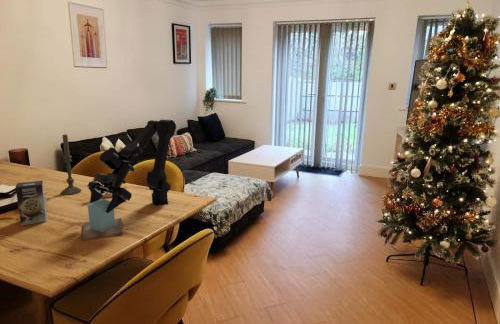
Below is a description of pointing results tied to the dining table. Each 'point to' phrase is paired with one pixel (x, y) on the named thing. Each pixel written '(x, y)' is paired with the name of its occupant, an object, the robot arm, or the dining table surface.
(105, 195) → the brown scrollwork stand
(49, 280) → the dining table surface
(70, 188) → the candlestick holder
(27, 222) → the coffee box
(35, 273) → the dining table surface
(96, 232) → the post board
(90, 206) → the light blue rectangular block
